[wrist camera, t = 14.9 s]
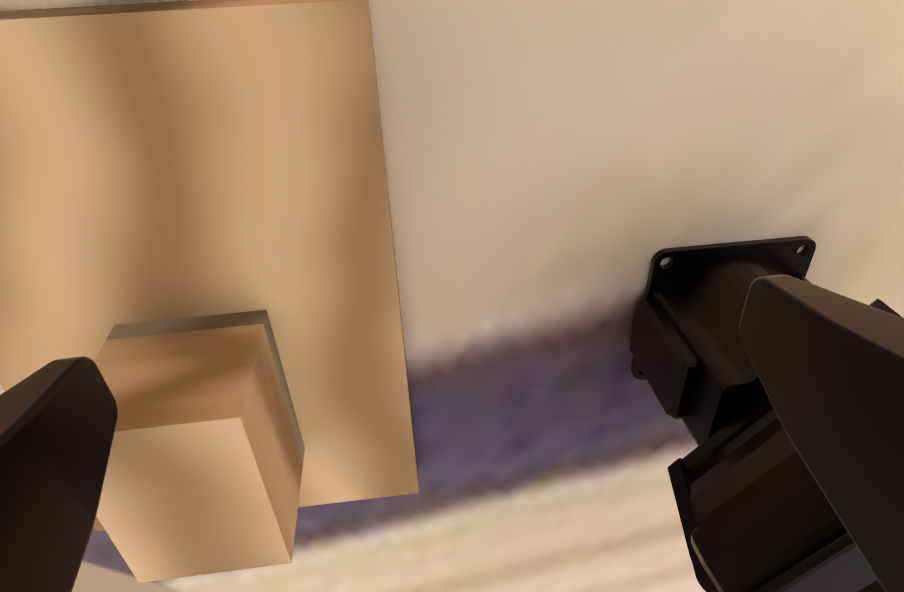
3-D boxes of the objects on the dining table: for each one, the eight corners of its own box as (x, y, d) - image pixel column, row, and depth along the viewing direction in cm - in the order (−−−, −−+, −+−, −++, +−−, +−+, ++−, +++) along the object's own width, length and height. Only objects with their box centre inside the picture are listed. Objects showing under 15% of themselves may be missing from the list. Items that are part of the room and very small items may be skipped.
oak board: (367, -9, 16) (367, -1, 15) (416, 466, 28) (419, 492, 26) (-177, 21, 15) (-226, 32, 14) (108, 501, 27) (95, 531, 25)
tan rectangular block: (266, 309, 20) (240, 417, 16) (304, 448, 24) (291, 562, 20) (114, 324, 20) (47, 439, 15) (179, 462, 24) (139, 583, 19)
